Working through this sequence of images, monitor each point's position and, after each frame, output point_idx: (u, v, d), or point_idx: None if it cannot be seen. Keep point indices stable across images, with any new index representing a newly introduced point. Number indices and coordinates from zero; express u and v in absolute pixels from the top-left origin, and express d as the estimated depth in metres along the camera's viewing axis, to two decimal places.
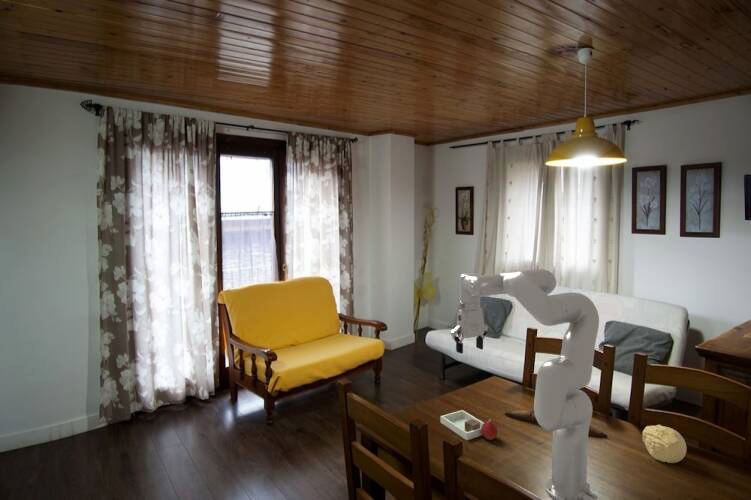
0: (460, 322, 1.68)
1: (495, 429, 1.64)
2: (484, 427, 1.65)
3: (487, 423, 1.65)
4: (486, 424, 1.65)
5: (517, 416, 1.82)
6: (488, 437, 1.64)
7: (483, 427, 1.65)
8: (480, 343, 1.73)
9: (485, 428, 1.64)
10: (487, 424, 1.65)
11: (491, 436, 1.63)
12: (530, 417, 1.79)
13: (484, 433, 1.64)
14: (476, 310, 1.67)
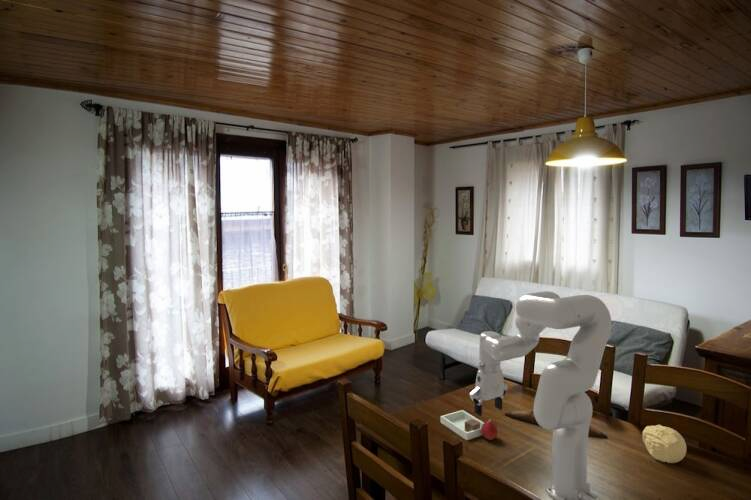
0: (479, 384, 1.62)
1: (495, 429, 1.64)
2: (484, 427, 1.65)
3: (487, 423, 1.65)
4: (486, 424, 1.65)
5: (517, 416, 1.82)
6: (488, 437, 1.64)
7: (483, 427, 1.65)
8: (499, 403, 1.67)
9: (485, 428, 1.64)
10: (487, 424, 1.65)
11: (491, 436, 1.63)
12: (530, 417, 1.79)
13: (484, 433, 1.64)
14: (496, 372, 1.61)
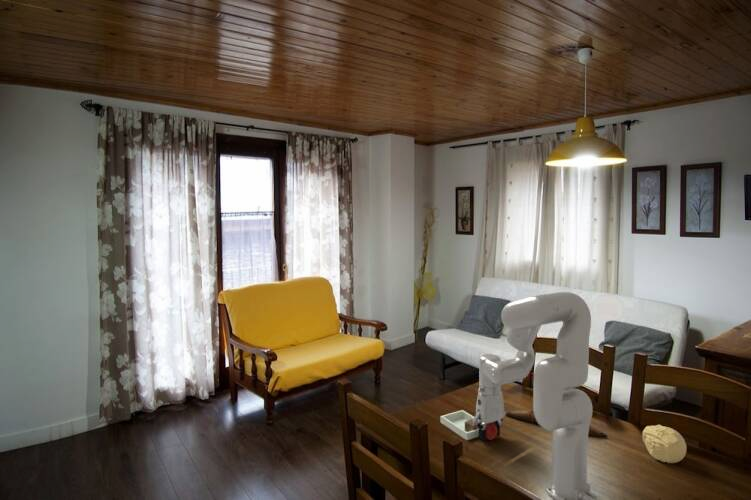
0: (480, 407, 1.62)
1: (495, 429, 1.64)
2: None
3: (487, 423, 1.65)
4: (486, 424, 1.65)
5: (517, 416, 1.82)
6: (488, 437, 1.64)
7: None
8: (497, 429, 1.67)
9: (485, 428, 1.64)
10: (487, 424, 1.65)
11: (491, 436, 1.63)
12: (530, 417, 1.79)
13: None
14: (496, 395, 1.61)
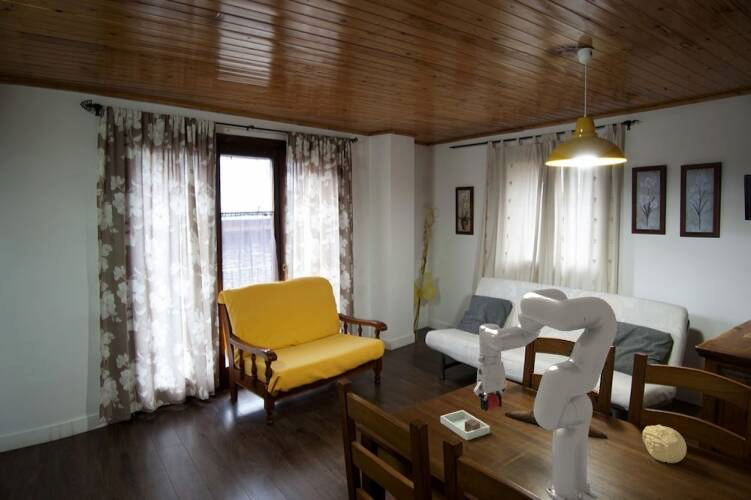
0: (481, 376, 1.61)
1: (497, 399, 1.62)
2: None
3: (488, 394, 1.64)
4: (487, 395, 1.63)
5: (517, 416, 1.82)
6: (490, 408, 1.62)
7: None
8: None
9: (487, 399, 1.63)
10: (488, 394, 1.63)
11: (493, 406, 1.62)
12: (530, 417, 1.79)
13: None
14: (497, 364, 1.60)
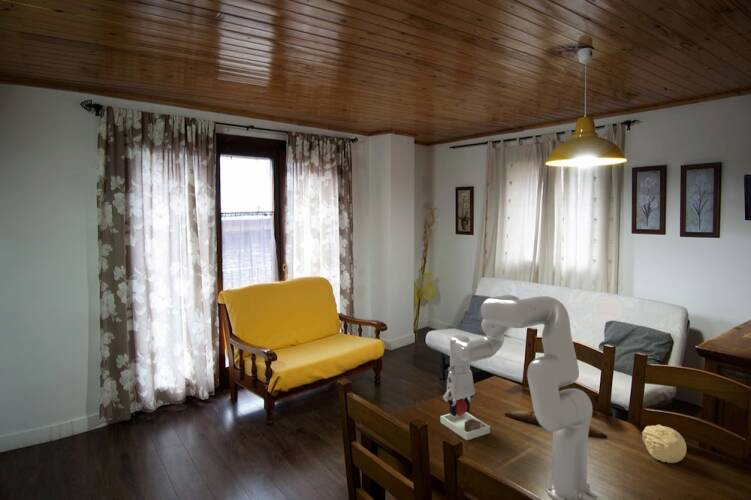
0: (450, 384, 1.73)
1: (464, 405, 1.75)
2: None
3: (457, 400, 1.76)
4: (456, 401, 1.76)
5: (517, 416, 1.82)
6: (458, 413, 1.75)
7: None
8: (467, 406, 1.77)
9: (455, 404, 1.75)
10: (457, 400, 1.76)
11: (461, 412, 1.74)
12: (530, 417, 1.79)
13: None
14: (465, 373, 1.72)
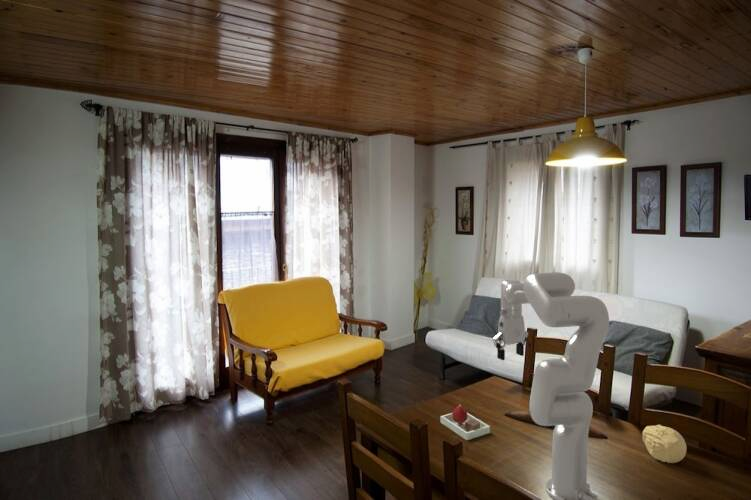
0: (502, 329, 1.69)
1: (465, 413, 1.75)
2: (454, 411, 1.76)
3: (457, 408, 1.76)
4: (456, 409, 1.76)
5: (517, 417, 1.82)
6: (458, 421, 1.75)
7: (454, 412, 1.76)
8: (521, 349, 1.74)
9: (456, 413, 1.75)
10: (457, 409, 1.76)
11: (461, 420, 1.74)
12: (530, 418, 1.79)
13: (454, 417, 1.75)
14: (518, 317, 1.68)
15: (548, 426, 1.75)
